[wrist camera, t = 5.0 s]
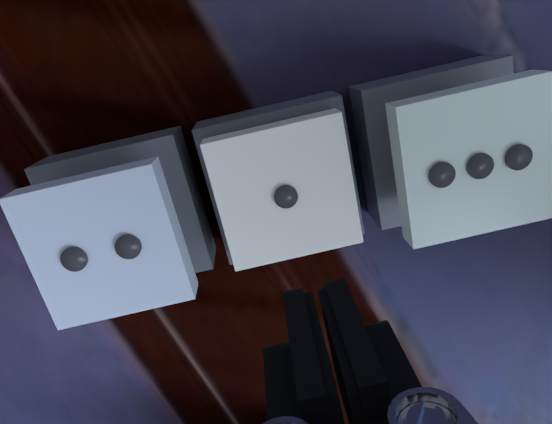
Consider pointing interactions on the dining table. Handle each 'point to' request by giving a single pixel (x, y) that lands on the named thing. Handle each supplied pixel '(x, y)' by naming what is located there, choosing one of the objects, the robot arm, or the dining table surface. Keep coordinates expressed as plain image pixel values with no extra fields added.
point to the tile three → (473, 157)
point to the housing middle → (265, 117)
